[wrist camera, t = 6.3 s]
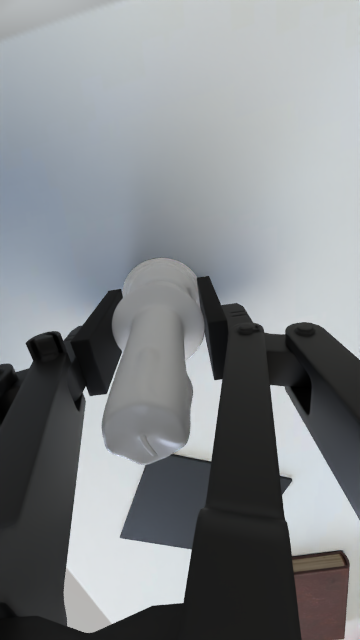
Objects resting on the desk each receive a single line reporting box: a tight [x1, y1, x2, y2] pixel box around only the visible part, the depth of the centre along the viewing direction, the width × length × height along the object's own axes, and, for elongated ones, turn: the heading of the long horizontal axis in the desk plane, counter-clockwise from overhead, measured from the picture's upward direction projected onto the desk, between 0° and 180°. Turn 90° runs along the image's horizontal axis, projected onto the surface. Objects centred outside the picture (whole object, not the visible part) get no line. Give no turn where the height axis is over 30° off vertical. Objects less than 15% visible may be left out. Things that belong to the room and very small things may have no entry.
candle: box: [102, 258, 205, 465], centre depth 12 cm, size 5×5×12 cm
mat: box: [120, 454, 292, 549], centre depth 27 cm, size 14×14×1 cm
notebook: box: [292, 551, 349, 640], centre depth 35 cm, size 15×20×2 cm
